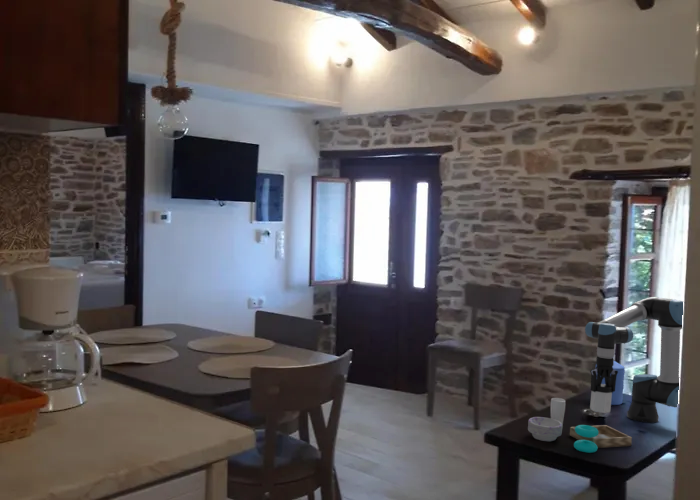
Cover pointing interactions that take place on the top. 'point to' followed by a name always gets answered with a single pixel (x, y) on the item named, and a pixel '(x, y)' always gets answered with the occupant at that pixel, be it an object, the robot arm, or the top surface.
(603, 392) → the jar
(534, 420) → the light grey speckled bowl
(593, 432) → the donuts
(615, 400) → the water jug
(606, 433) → the crate
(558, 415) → the light grey cylinder
